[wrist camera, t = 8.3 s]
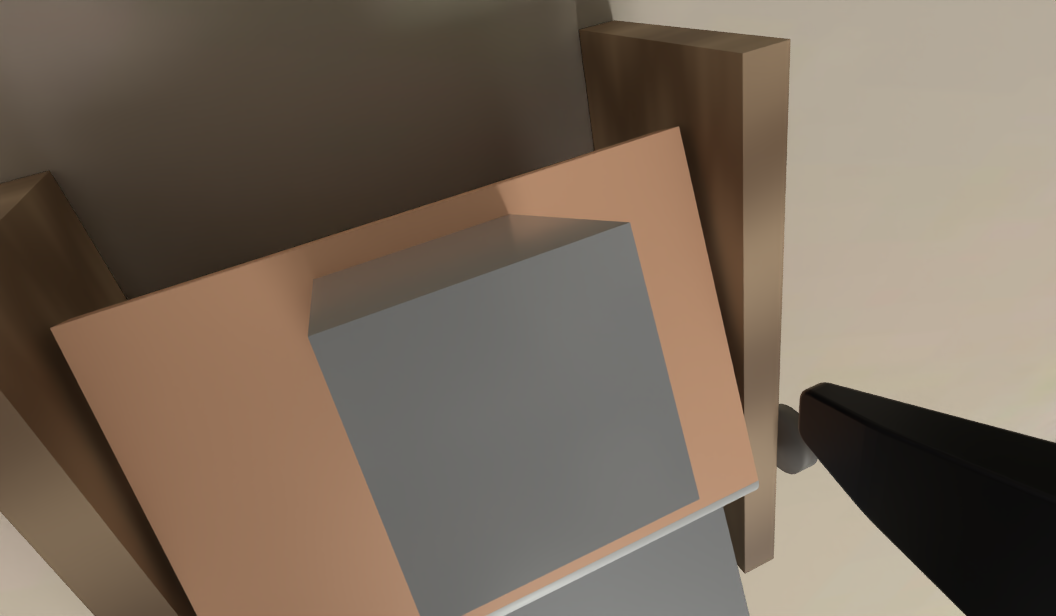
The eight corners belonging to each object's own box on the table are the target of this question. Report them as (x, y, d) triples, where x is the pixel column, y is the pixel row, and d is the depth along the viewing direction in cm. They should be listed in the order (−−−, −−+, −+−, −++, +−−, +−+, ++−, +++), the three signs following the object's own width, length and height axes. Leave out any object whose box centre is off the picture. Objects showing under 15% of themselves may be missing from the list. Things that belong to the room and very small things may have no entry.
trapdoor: (707, 553, 23) (792, 631, 19) (334, 746, 20) (338, 891, 16) (601, 142, 20) (678, 126, 15) (120, 295, 16) (49, 328, 12)
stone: (562, 391, 16) (699, 498, 10) (385, 464, 14) (426, 632, 9) (509, 213, 14) (630, 222, 9) (313, 279, 13) (307, 336, 8)
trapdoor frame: (667, 426, 28) (808, 573, 21) (253, 612, 24) (261, 874, 17) (631, 15, 19) (851, 35, 12) (-33, 192, 15) (-266, 375, 8)
